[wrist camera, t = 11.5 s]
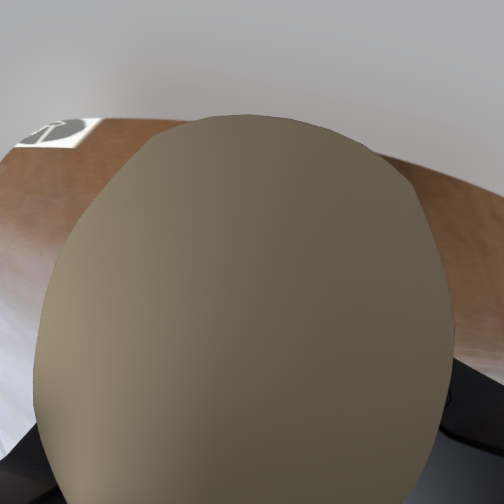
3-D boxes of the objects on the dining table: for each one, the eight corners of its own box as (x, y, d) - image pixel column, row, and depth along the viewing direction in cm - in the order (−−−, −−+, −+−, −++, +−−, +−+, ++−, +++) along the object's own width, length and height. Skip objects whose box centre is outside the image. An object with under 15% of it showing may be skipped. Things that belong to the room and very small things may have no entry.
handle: (300, 295, 18) (455, 166, 3) (279, 400, 16) (359, 590, 2) (220, 279, 18) (118, 103, 4) (198, 383, 17) (38, 520, 2)
